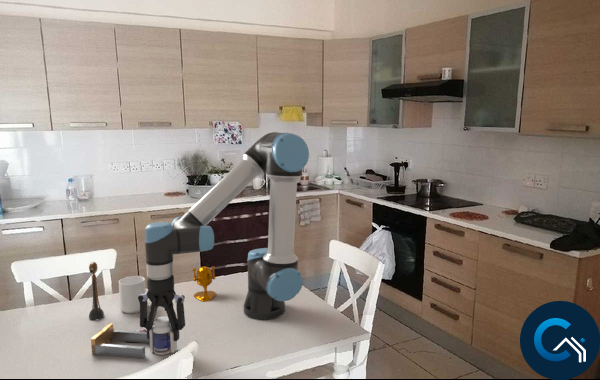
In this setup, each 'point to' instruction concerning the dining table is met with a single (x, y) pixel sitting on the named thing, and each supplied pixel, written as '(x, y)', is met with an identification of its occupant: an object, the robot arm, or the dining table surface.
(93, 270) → the wooden tabletop sculpture
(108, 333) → the rail cradle
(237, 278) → the dining table surface
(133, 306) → the mug
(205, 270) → the gold trophy cup
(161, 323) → the pill bottle
